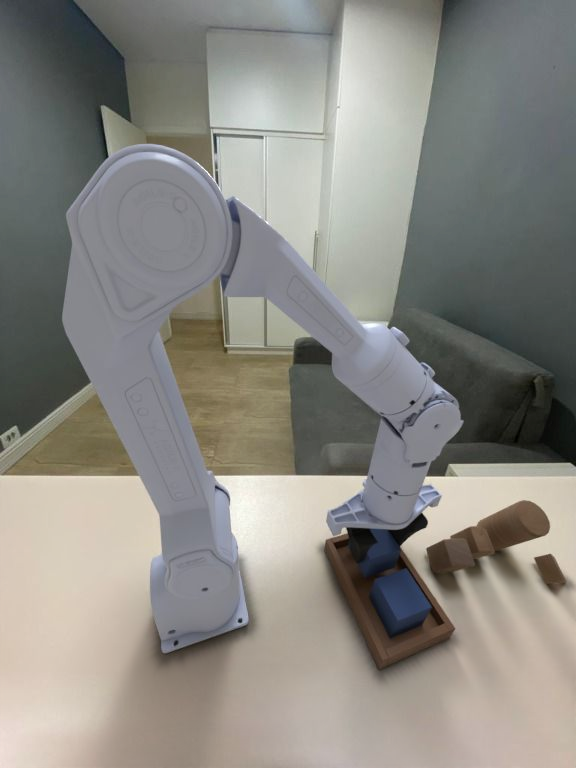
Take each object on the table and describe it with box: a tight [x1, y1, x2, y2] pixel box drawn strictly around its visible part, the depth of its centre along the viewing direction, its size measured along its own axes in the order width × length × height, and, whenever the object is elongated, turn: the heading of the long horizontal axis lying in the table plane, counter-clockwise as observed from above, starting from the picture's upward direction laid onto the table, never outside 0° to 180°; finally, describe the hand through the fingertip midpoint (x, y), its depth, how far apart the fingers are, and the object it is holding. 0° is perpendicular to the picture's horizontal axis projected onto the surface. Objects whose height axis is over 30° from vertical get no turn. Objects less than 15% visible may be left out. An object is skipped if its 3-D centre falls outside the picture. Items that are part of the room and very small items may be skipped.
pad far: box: [348, 528, 402, 578], centre depth 40 cm, size 4×4×4 cm
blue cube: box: [369, 568, 432, 638], centre depth 36 cm, size 4×4×4 cm
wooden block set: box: [425, 499, 567, 584], centre depth 41 cm, size 18×9×10 cm, turn 93°
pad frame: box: [323, 533, 456, 670], centre depth 39 cm, size 10×14×2 cm
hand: (372, 550), depth 41 cm, fingers closed on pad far, 4 cm apart
